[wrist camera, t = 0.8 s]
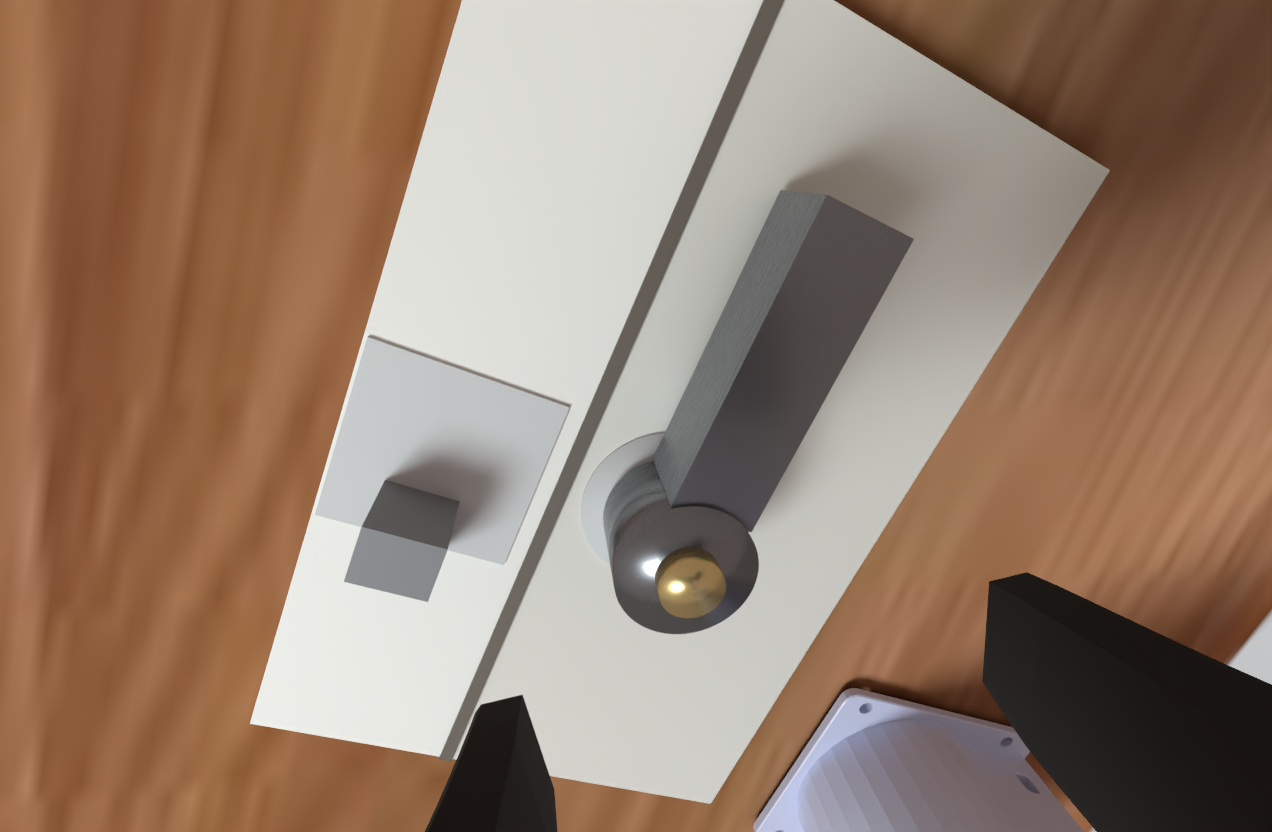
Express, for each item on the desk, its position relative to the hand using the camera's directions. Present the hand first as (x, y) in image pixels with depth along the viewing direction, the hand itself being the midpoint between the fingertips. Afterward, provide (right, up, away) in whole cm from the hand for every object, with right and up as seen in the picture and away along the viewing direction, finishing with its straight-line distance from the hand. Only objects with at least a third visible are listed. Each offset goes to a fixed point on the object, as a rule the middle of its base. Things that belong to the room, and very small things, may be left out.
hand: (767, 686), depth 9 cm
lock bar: (0, +4, +7) cm, 8 cm away
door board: (-2, +3, +9) cm, 10 cm away
